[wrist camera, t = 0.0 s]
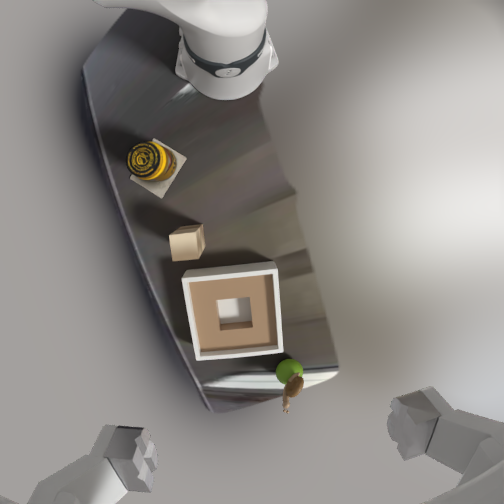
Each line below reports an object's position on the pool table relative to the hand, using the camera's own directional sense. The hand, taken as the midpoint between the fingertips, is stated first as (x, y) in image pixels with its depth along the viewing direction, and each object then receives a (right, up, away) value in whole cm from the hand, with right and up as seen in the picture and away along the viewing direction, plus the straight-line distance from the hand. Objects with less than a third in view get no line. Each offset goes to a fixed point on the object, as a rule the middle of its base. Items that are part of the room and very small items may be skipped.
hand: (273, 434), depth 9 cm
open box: (-4, -4, +50) cm, 50 cm away
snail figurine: (+6, -18, +53) cm, 57 cm away
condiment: (-17, +21, +44) cm, 52 cm away
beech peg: (-11, +9, +47) cm, 49 cm away
